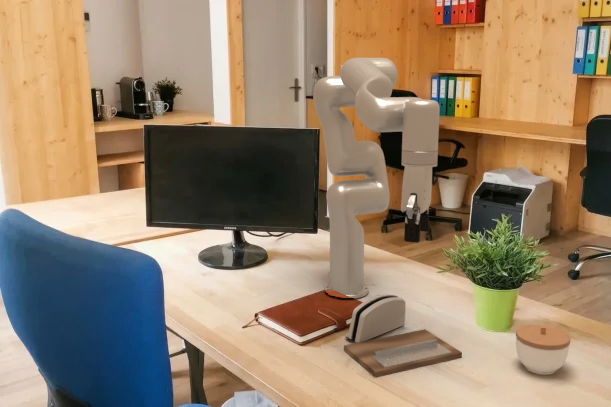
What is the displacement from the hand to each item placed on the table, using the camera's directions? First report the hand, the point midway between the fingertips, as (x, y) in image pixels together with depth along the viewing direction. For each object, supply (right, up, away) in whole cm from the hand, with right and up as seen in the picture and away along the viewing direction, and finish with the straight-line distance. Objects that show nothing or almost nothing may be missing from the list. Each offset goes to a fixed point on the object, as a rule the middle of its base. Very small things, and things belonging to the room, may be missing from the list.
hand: (416, 236), depth 136 cm
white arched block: (-8, -25, +14) cm, 30 cm away
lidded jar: (+26, -28, -4) cm, 38 cm away
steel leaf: (-1, -26, 0) cm, 26 cm away
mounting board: (-3, -27, +3) cm, 27 cm away
